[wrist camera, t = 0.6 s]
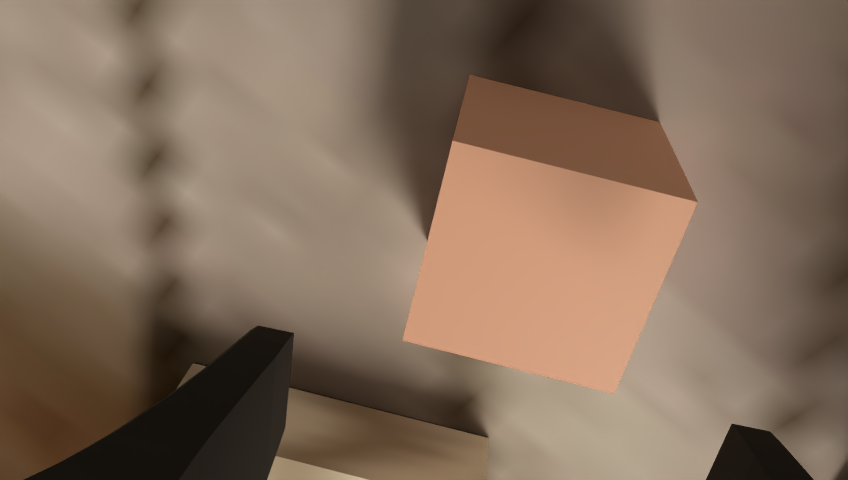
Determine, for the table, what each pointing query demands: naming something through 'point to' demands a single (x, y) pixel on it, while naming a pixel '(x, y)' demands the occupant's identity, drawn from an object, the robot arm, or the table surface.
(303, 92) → the table surface
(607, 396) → the table surface
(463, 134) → the cube
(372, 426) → the base
